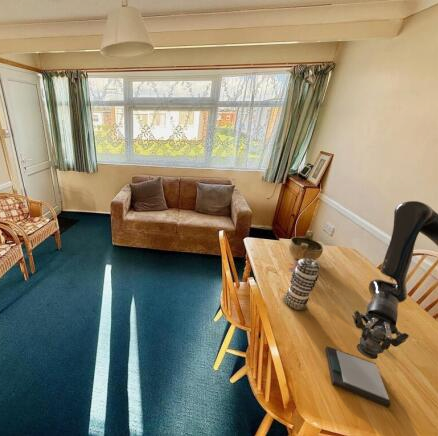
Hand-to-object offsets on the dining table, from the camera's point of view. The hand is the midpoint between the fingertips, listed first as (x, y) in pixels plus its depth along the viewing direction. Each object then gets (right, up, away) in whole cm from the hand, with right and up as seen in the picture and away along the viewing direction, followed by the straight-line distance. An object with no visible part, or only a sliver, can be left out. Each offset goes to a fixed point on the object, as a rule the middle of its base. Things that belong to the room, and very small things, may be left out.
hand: (374, 342), depth 71 cm
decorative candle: (-2, -2, +37) cm, 37 cm away
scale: (0, -16, +7) cm, 18 cm away
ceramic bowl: (+25, +14, +71) cm, 77 cm away
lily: (+13, +6, +55) cm, 57 cm away
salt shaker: (+2, -6, +5) cm, 8 cm away
